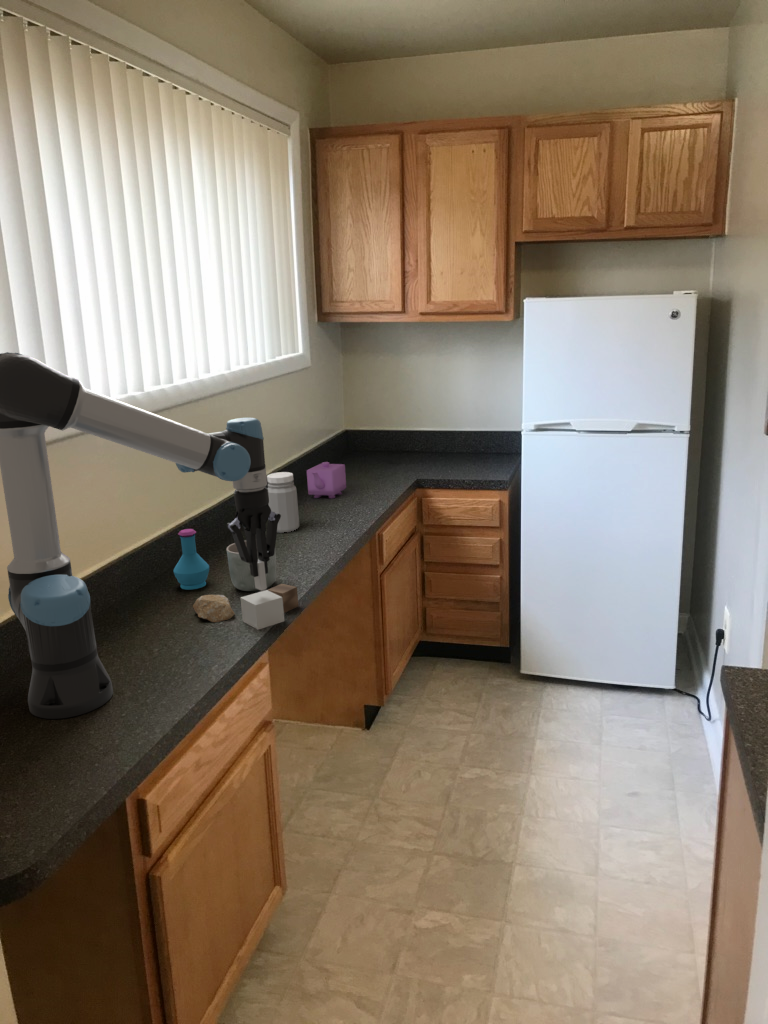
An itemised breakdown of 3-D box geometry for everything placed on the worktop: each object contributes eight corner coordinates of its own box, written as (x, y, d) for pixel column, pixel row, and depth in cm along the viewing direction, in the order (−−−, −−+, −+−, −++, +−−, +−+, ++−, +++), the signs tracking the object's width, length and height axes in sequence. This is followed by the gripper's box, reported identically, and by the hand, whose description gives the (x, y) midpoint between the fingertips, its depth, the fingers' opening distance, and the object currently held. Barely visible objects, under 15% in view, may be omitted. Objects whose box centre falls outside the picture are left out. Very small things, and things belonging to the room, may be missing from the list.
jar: (295, 533, 265) (290, 477, 260) (265, 533, 267) (260, 478, 262) (303, 525, 274) (298, 471, 270) (274, 525, 276) (269, 471, 271)
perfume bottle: (192, 577, 228) (186, 524, 224) (218, 582, 223) (212, 527, 219) (168, 588, 220) (161, 533, 217) (194, 593, 216) (187, 537, 212)
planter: (242, 598, 210) (238, 556, 207) (223, 585, 220) (218, 545, 217) (286, 586, 217) (283, 546, 214) (265, 575, 227) (262, 536, 224)
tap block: (257, 630, 190) (255, 605, 188) (242, 621, 195) (240, 597, 193) (284, 621, 194) (282, 597, 192) (268, 613, 199) (266, 589, 198)
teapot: (325, 489, 323) (322, 457, 320) (349, 490, 319) (347, 458, 316) (302, 502, 305) (299, 468, 302) (327, 503, 301) (324, 469, 298)
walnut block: (284, 613, 199) (282, 593, 197) (269, 609, 202) (267, 589, 200) (298, 606, 203) (296, 586, 201) (283, 602, 206) (281, 583, 204)
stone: (226, 605, 206) (224, 587, 205) (236, 619, 197) (234, 601, 196) (192, 612, 203) (190, 594, 202) (200, 626, 194) (198, 608, 193)
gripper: (232, 496, 180) (244, 600, 186) (284, 485, 187) (293, 584, 193) (216, 491, 185) (227, 592, 191) (267, 480, 193) (276, 577, 199)
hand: (261, 588), depth 192 cm, fingers closed
